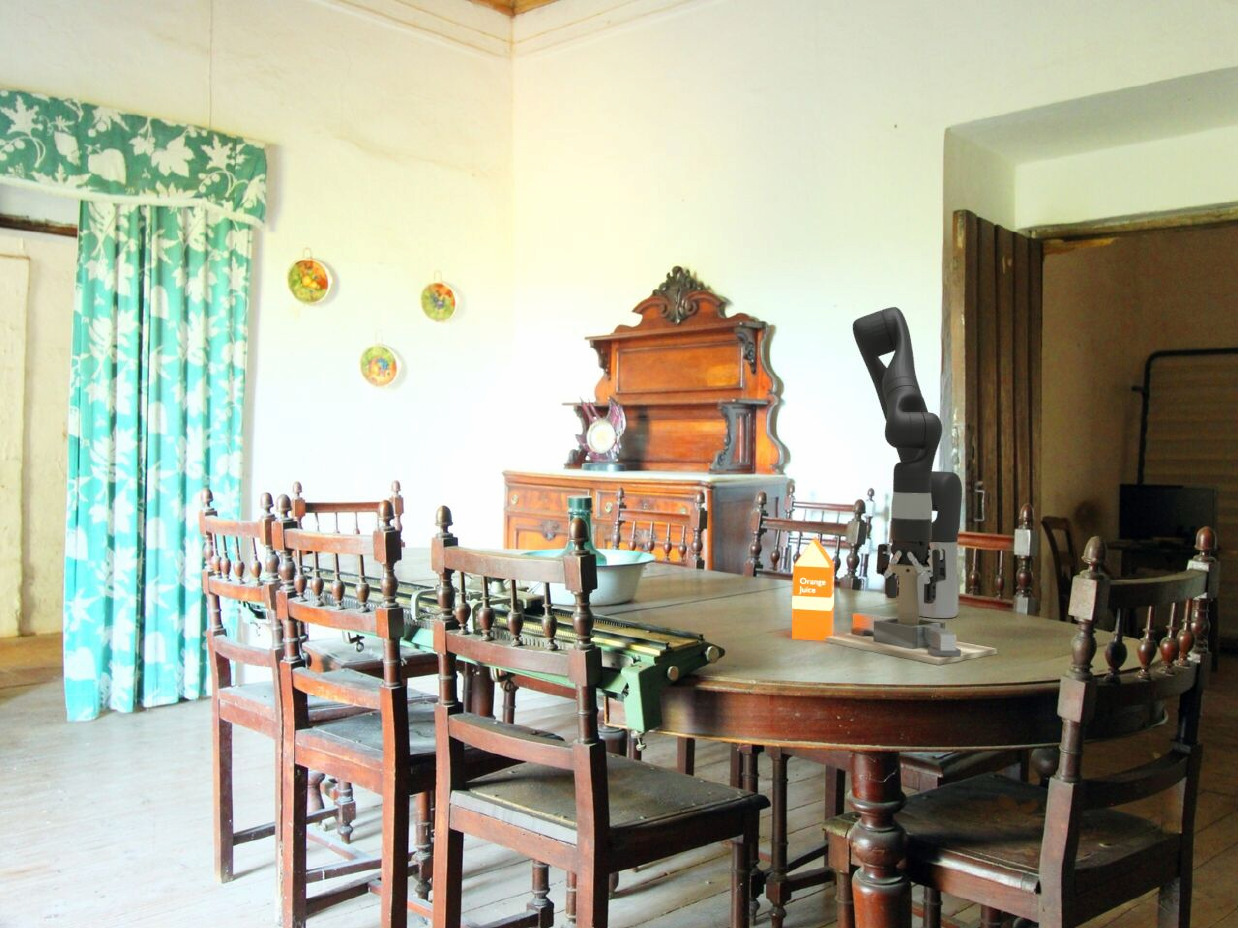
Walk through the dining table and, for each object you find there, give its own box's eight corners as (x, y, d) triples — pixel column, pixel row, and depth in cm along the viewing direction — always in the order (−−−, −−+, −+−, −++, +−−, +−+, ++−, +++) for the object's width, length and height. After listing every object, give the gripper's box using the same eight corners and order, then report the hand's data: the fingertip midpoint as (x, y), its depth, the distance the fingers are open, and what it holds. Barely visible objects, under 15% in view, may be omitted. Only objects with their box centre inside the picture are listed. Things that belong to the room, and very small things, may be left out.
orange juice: (833, 633, 213) (835, 536, 212) (830, 640, 204) (832, 540, 204) (795, 631, 215) (797, 535, 215) (790, 638, 206) (792, 538, 206)
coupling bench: (883, 632, 214) (884, 608, 214) (996, 653, 193) (997, 627, 193) (825, 641, 203) (826, 616, 203) (938, 665, 182) (939, 636, 182)
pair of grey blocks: (865, 631, 210) (865, 611, 210) (979, 652, 189) (980, 631, 189) (832, 636, 203) (832, 616, 203) (947, 659, 183) (947, 636, 183)
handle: (891, 638, 201) (891, 562, 201) (926, 640, 200) (925, 563, 199) (891, 644, 197) (890, 565, 196) (926, 645, 195) (925, 566, 194)
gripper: (955, 517, 194) (953, 603, 195) (893, 513, 206) (891, 594, 206) (931, 519, 190) (929, 607, 190) (869, 514, 201) (867, 597, 201)
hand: (909, 600), depth 198 cm, fingers open, 8 cm apart
